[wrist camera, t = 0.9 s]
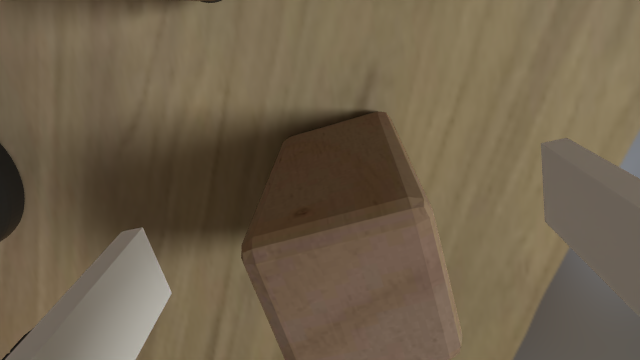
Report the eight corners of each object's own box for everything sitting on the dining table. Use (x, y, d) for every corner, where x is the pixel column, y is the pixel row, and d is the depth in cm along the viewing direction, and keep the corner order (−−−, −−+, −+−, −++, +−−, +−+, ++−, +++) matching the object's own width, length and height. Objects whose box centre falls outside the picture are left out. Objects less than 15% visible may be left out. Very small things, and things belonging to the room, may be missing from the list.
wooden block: (280, 136, 40) (229, 252, 21) (386, 105, 38) (432, 200, 20) (313, 229, 43) (294, 398, 25) (411, 204, 42) (471, 363, 23)
